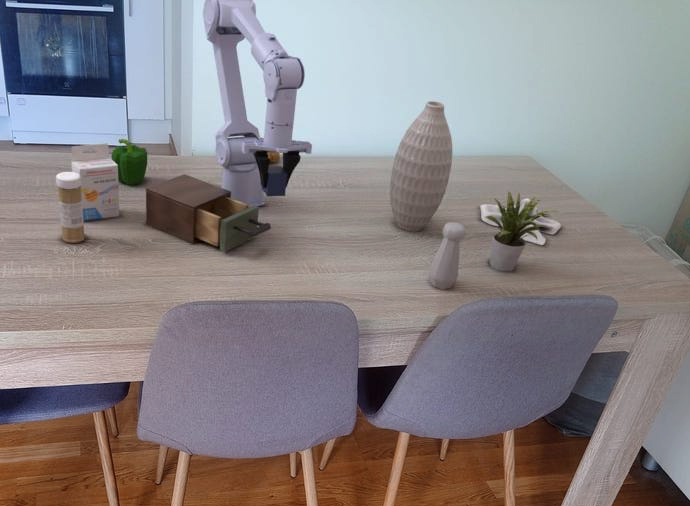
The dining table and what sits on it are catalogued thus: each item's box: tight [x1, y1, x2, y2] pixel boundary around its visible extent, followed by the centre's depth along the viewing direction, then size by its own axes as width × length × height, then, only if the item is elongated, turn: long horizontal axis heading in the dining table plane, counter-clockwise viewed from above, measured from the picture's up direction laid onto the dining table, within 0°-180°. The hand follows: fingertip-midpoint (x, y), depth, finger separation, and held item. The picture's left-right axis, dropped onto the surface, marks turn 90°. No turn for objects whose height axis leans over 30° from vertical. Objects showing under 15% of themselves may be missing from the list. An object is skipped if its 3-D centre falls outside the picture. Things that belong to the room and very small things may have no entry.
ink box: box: [70, 142, 120, 222], centre depth 150 cm, size 8×5×15 cm, turn 124°
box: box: [262, 165, 287, 197], centre depth 150 cm, size 4×4×5 cm
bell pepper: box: [111, 138, 148, 186], centre depth 169 cm, size 8×8×10 cm
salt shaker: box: [428, 221, 467, 290], centre depth 140 cm, size 6×6×13 cm
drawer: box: [195, 196, 272, 253], centre depth 148 cm, size 17×11×7 cm, turn 56°
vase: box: [389, 100, 453, 232], centre depth 158 cm, size 13×13×28 cm
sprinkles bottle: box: [55, 171, 86, 244], centre depth 140 cm, size 5×5×14 cm
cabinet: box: [145, 173, 231, 245], centre depth 152 cm, size 13×12×8 cm
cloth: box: [479, 198, 562, 246], centre depth 172 cm, size 22×19×6 cm
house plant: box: [486, 190, 558, 272], centre depth 148 cm, size 14×14×16 cm
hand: (273, 185), depth 150 cm, fingers closed on box, 4 cm apart
